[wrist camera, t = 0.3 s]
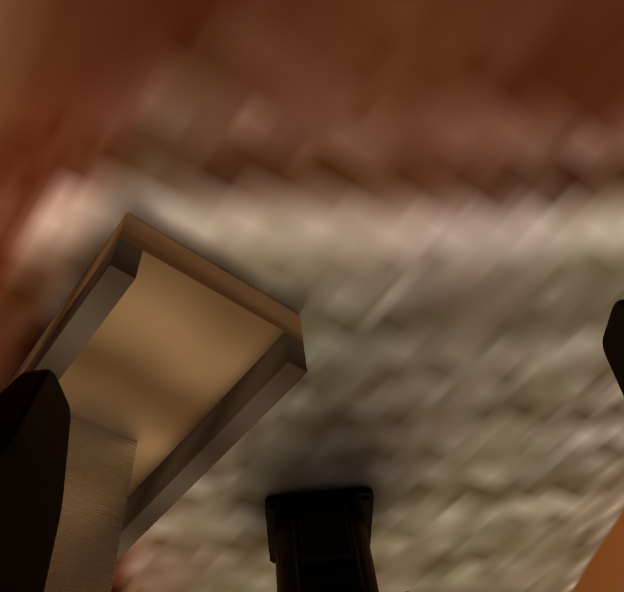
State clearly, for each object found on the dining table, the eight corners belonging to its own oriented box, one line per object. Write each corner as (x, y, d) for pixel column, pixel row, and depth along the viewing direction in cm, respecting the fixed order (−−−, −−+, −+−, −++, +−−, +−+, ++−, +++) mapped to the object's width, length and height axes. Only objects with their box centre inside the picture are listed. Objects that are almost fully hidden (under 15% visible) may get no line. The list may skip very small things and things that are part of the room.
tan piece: (127, 213, 24) (110, 264, 21) (299, 315, 28) (307, 372, 25) (-89, 520, 34) (-124, 589, 30) (62, 565, 37) (45, 630, 34)
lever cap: (137, 441, 29) (97, 661, 21) (88, 496, 31) (34, 717, 23) (53, 406, 27) (-27, 632, 19) (6, 467, 29) (-84, 695, 21)
